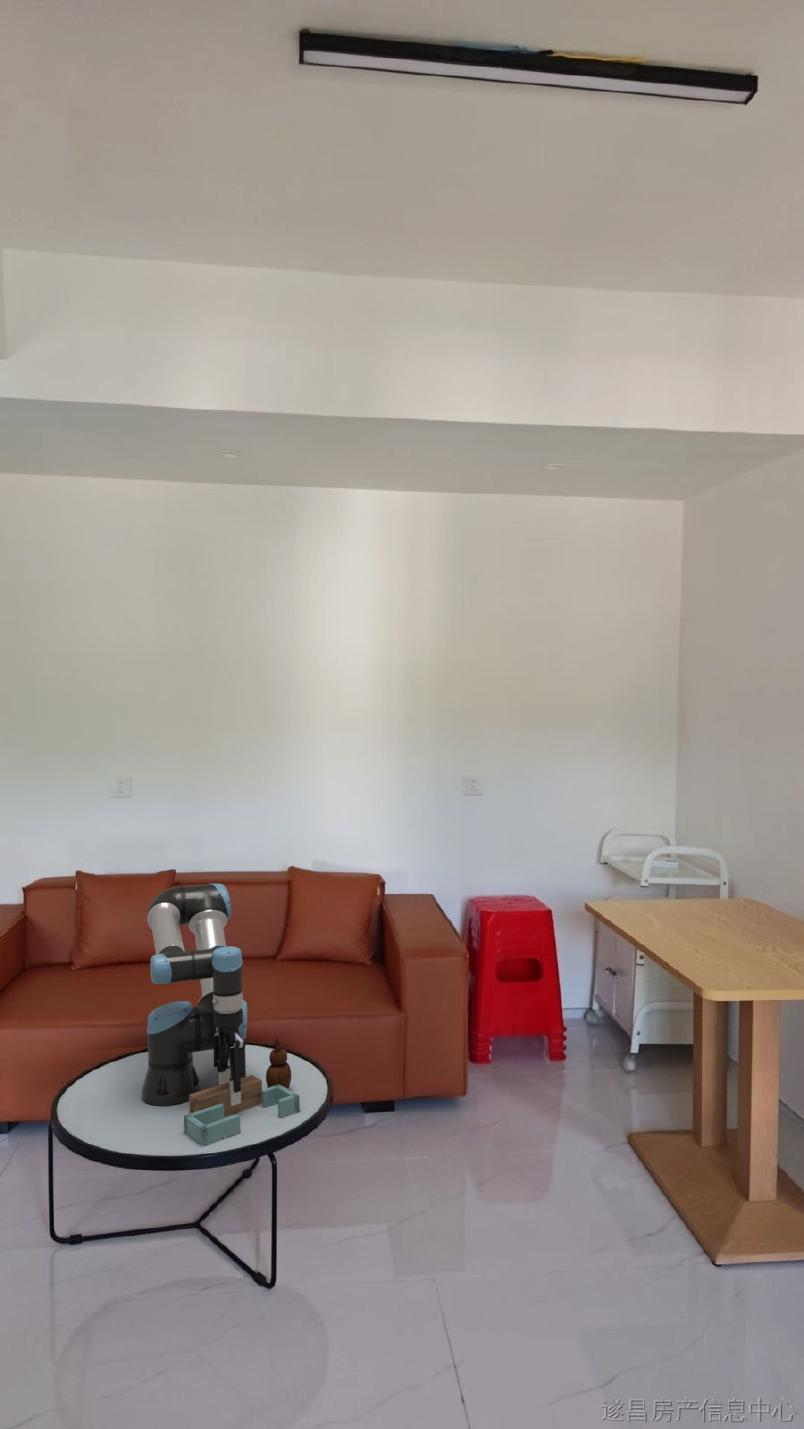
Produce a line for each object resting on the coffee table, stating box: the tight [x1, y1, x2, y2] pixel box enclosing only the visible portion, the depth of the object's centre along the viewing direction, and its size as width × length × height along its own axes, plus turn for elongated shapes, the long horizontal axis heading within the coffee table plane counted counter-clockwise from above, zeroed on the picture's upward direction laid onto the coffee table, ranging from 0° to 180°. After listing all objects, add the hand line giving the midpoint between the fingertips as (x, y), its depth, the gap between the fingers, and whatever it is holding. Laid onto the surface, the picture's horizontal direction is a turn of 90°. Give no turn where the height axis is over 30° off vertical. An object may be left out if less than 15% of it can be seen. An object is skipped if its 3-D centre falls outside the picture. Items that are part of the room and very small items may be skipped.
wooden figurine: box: [265, 1037, 292, 1089], centre depth 230 cm, size 7×6×15 cm
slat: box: [188, 1074, 263, 1118], centre depth 219 cm, size 5×18×6 cm, turn 130°
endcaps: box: [183, 1084, 301, 1147], centre depth 213 cm, size 10×27×4 cm, turn 130°
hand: (230, 1100), depth 220 cm, fingers closed on slat, 5 cm apart
